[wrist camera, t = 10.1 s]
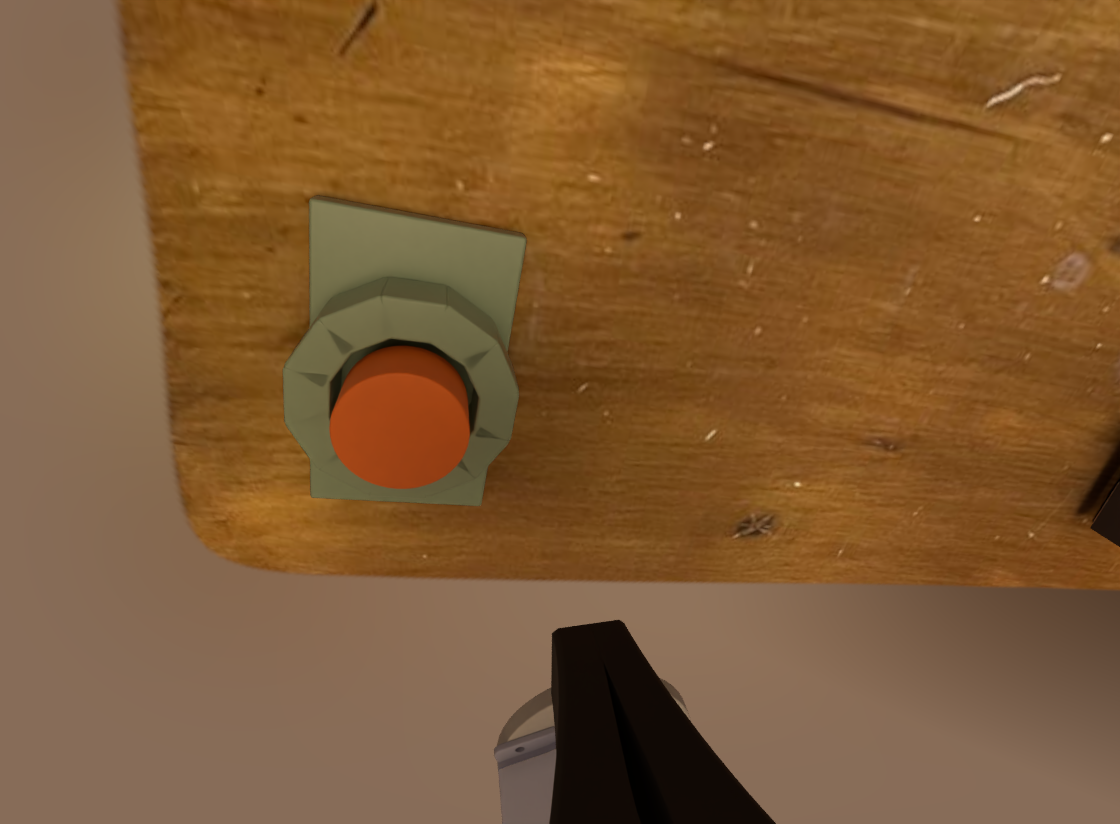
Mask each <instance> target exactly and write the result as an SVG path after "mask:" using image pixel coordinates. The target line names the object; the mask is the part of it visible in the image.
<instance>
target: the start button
mask: <svg viewBox="0 0 1120 824" xmlns="http://www.w3.org/2000/svg"><path fill="white" fill-rule="evenodd" d="M329 431H330V438H331V443H332V445H333V448H334V451H335V452H336V454H337V456H338V458H339V459H340V460H341V462H342V463H343V464H344V465H345V466H346V467H347V468H348V469H349V470H350V471H351V472H352V473H354V474H355V475H356V476H358V477H360V478H361V479H363V480H365V481H367V482H370V483H372V484H375V485H378V486H382V487H386V488H394V489H410V488H417V487H422V486H425V485H428V484H431V483H433V482H436V481H438V480H439V479H441V478H443V477H444V476H446V475H447V474H448V473H450V472H451V471H452V470H453V469H454V468H455V467H456V466H457V465H458V463H459V462H460V461H461V460H462V458H463V456H464V454H465V452H466V450H467V447H468V443H469V439H470V425H469V410H468V397H467V391H466V387H465V385H464V382H463V380H462V378H461V376H460V375H459V373H458V372H457V371H456V369H455V368H454V367H453V366H452V365H451V364H450V363H449V362H448V361H446V360H445V359H444V358H442V357H441V356H439V355H437V354H436V353H433V352H431V351H429V350H426V349H423V348H419V347H414V346H403V345H402V346H391V347H385V348H382V349H379V350H376V351H374V352H372V353H369V354H368V355H366V356H365V357H363V358H362V359H361V360H359V361H358V362H357V363H356V364H355V365H354V366H353V367H352V369H351V370H350V371H349V373H348V375H347V377H346V379H345V381H344V383H343V386H342V388H341V391H340V394H339V396H338V399H337V401H336V404H335V406H334V409H333V411H332V414H331V418H330V426H329Z"/></svg>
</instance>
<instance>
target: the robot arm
mask: <svg viewBox="0 0 1120 824" xmlns="http://www.w3.org/2000/svg"><path fill="white" fill-rule="evenodd" d="M551 683H552V684H551V686H552V687H551V694H552V702H553V711H554V722H555V726H553V727H550V728H547V729H544V730H541V731H538V732H535V733H532V734H529V735H526V736H523V737H520V738H517V739H514V740H511V741H508V742H505V743H502V744H499V745H497V746H496V747H495V748H494V757H495V759H496V760H497V762H498V772H499V785H500V797H501V810H502V824H776V823H775V822H774V821H773V820H772V819H771V818H770V817H769V815H768V814H767V813H766V812H765V811H764V810H763V809H762V808H761V807H760V805H759V804H758V803H757V802H756V801H755V800H754V799H753V798H752V796H751V795H749V793H748V792H747V791H746V790H745V788H744V787H743V786H742V785H741V784H740V783H739V782H738V780H737V779H736V778H735V777H734V775H733V774H732V773H731V772H730V771H729V769H728V768H727V767H726V766H725V765H724V763H723V762H722V761H721V760H720V758H719V757H718V756H717V755H716V754H715V753H714V751H713V750H712V749H711V747H710V746H709V745H708V743H707V742H706V741H705V740H704V738H703V737H702V736H701V735H700V733H699V732H698V731H697V729H696V728H695V727H694V725H693V724H692V723H691V721H690V720H689V719H688V717H687V716H686V715H685V713H684V712H683V711H682V709H681V708H680V707H679V705H678V704H677V703H676V701H675V700H674V699H673V697H672V696H671V694H670V693H669V692H668V690H667V689H666V687H665V686H664V685H663V683H662V682H661V680H660V679H659V677H658V676H657V674H656V673H655V671H654V670H653V669H652V667H651V666H650V664H649V663H648V661H647V659H646V658H645V657H644V655H643V654H642V652H641V650H640V649H639V647H638V646H637V644H636V642H635V641H634V639H633V637H632V636H631V634H630V632H629V631H628V629H627V627H626V626H625V624H624V623H623V622H622V621H620V620H614V621H607V622H601V623H593V624H587V625H579V626H572V627H565V628H558V629H557V630H556V631H554V632H553V633H552V681H551Z"/></svg>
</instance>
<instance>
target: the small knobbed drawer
mask: <svg viewBox="0 0 1120 824" xmlns="http://www.w3.org/2000/svg"><path fill="white" fill-rule="evenodd" d="M1091 529H1092V530H1094V531H1096V532H1097V533H1099V534H1100V535H1102V536H1103V537H1105V538H1107V539H1108V540H1110V541H1111V542H1113V543H1114V544H1116V545H1118V546H1119V547H1120V482H1119V484H1118V485H1117V487H1116V489H1115V490H1114V492H1113V493H1112V495H1111V496H1110V498H1109V499H1108V501H1107V502H1106V504H1105V506H1104V507H1103V509H1102V510H1101V512H1100V513H1099V515H1098V516H1097V518H1096V520H1095V521H1094V523H1093V524H1092V526H1091Z"/></svg>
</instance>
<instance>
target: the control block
mask: <svg viewBox="0 0 1120 824" xmlns="http://www.w3.org/2000/svg"><path fill="white" fill-rule="evenodd" d="M526 242H527V239H526V237H525V235H524V234H523V233H519V232H514V231H508V230H503V229H497V228H492V227H487V226H481V225H476V224H470V223H465V222H459V221H454V220H449V219H443V218H438V217H432V216H427V215H421V214H416V213H411V212H405V211H400V210H394V209H389V208H383V207H378V206H373V205H367V204H362V203H356V202H351V201H345V200H340V199H335V198H329V197H324V196H318V195H317V196H314V197H312V198H311V199H310V200H309V292H310V328H309V329H308V331H307V332H306V333H305V335H304V336H303V338H302V339H301V340H300V342H299V343H298V345H297V346H296V348H295V349H294V351H293V352H292V354H291V355H290V357H289V358H288V360H287V361H286V363H285V366H284V368H283V393H284V421H285V423H286V426H287V427H288V429H289V430H290V432H291V433H292V434H293V436H294V437H295V439H296V440H297V441H298V443H299V444H300V446H301V447H302V448H303V450H304V451H305V453H306V454H307V455H308V457H309V458H310V495H311V497H312V498H329V499H349V500H369V501H389V502H409V503H429V504H449V505H469V506H480V505H481V504H482V498H483V492H484V486H485V480H486V475H487V469H488V465H489V464H490V463H491V462H492V461H493V460H494V459H495V458H496V457H497V456H498V454H499V453H500V452H501V451H502V450H503V449H504V448H505V447H506V446H507V445H508V443H509V441H510V439H511V436H512V431H513V425H514V420H515V415H516V410H517V404H518V399H519V388H518V384H517V380H516V376H515V372H514V369H513V365H512V363H511V360H510V358H509V355H508V347H509V341H510V335H511V329H512V324H513V318H514V312H515V306H516V300H517V294H518V289H519V283H520V277H521V271H522V265H523V260H524V254H525V248H526ZM402 345H403V346H414V347H419V348H423V349H426V350H429V351H431V352H433V353H436V354H437V355H439V356H441V357H442V358H444V359H445V360H446V361H448V362H449V363H450V364H451V365H452V366H453V367H454V368H455V369H456V371H457V372H458V373H459V375H460V376H461V378H462V380H463V382H464V385H465V387H466V391H467V397H468V410H469V425H470V439H469V443H468V447H467V450H466V452H465V454H464V456H463V458H462V460H461V461H460V462H459V463H458V465H457V466H456V467H455V468H454V469H453V470H452V471H451V472H450V473H448V474H447V475H446V476H444V477H443V478H441V479H439V480H438V481H436V482H433V483H431V484H428V485H425V486H422V487H417V488H410V489H394V488H386V487H382V486H378V485H375V484H372V483H370V482H367V481H365V480H363V479H361V478H360V477H358V476H356V475H355V474H354V473H352V472H351V471H350V470H349V469H348V468H347V467H346V466H345V465H344V464H343V463H342V462H341V460H340V459H339V458H338V456H337V454H336V452H335V451H334V448H333V445H332V443H331V438H330V431H329V426H330V418H331V414H332V411H333V409H334V406H335V404H336V401H337V399H338V396H339V394H340V391H341V388H342V386H343V383H344V381H345V379H346V377H347V375H348V373H349V371H350V370H351V369H352V367H353V366H354V365H355V364H356V363H357V362H358V361H359V360H361V359H362V358H363V357H365V356H366V355H368V354H369V353H372V352H374V351H376V350H379V349H382V348H385V347H391V346H402Z"/></svg>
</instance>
